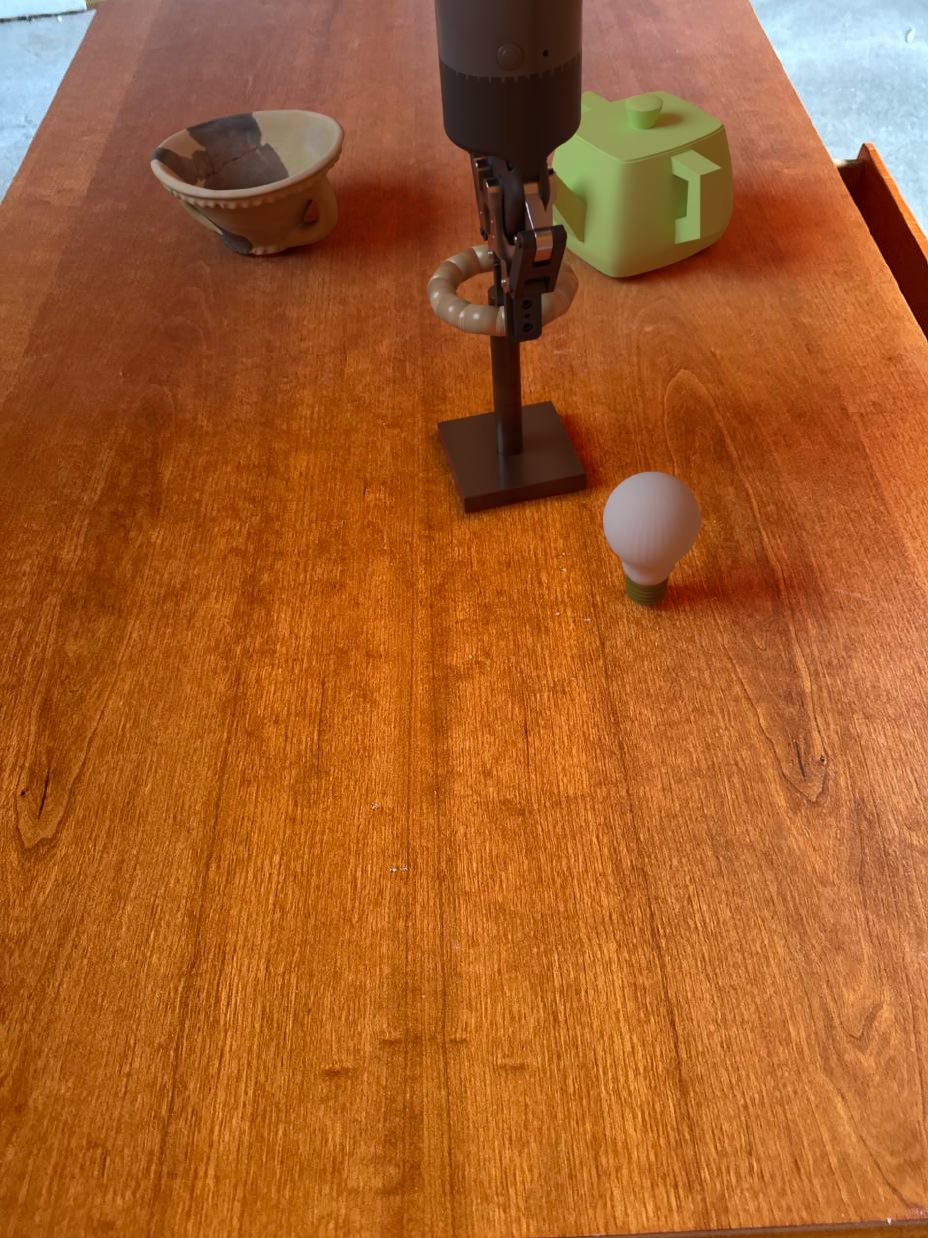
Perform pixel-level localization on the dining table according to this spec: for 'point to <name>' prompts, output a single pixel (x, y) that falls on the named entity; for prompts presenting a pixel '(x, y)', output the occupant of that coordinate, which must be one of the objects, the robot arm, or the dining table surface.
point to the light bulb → (650, 530)
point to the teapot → (642, 182)
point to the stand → (509, 442)
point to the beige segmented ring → (486, 316)
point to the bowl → (255, 176)
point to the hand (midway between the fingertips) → (518, 326)
